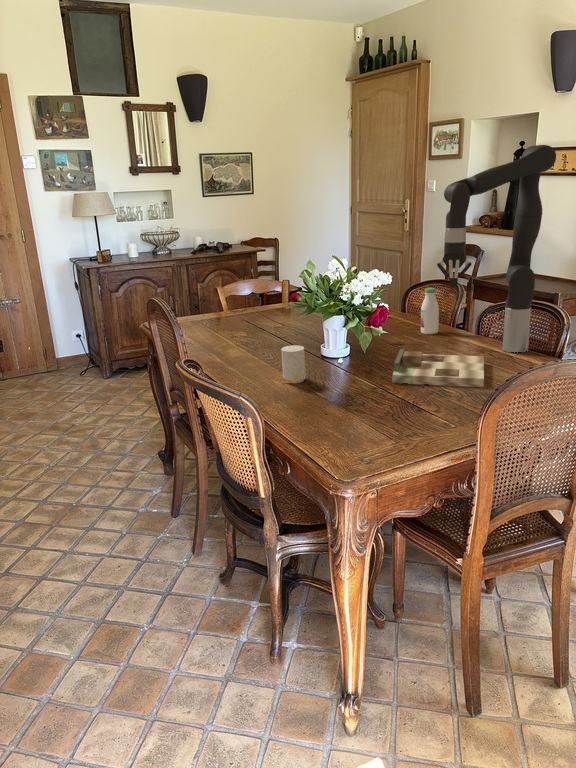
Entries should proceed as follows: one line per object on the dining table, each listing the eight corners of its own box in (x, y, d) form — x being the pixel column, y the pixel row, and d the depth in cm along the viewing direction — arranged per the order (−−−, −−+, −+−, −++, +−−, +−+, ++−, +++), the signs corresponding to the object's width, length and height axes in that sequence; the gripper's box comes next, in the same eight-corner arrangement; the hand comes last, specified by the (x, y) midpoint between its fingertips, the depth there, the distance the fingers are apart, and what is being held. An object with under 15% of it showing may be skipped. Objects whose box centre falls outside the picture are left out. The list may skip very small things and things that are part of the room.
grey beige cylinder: (289, 385, 204) (287, 353, 200) (279, 379, 211) (277, 348, 207) (309, 381, 208) (308, 348, 204) (299, 375, 215) (297, 344, 211)
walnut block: (421, 362, 212) (421, 351, 210) (420, 367, 206) (420, 356, 205) (404, 361, 213) (405, 351, 212) (403, 366, 208) (403, 355, 206)
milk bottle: (440, 331, 263) (441, 287, 257) (434, 335, 257) (436, 290, 251) (424, 329, 267) (425, 286, 261) (418, 333, 261) (418, 289, 255)
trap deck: (483, 363, 215) (484, 348, 213) (483, 387, 192) (484, 370, 190) (401, 361, 224) (401, 346, 222) (392, 383, 201) (392, 366, 199)
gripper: (474, 238, 213) (471, 286, 218) (437, 239, 217) (435, 286, 222) (474, 241, 206) (471, 289, 212) (435, 242, 210) (434, 289, 216)
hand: (453, 287), depth 217 cm, fingers closed
